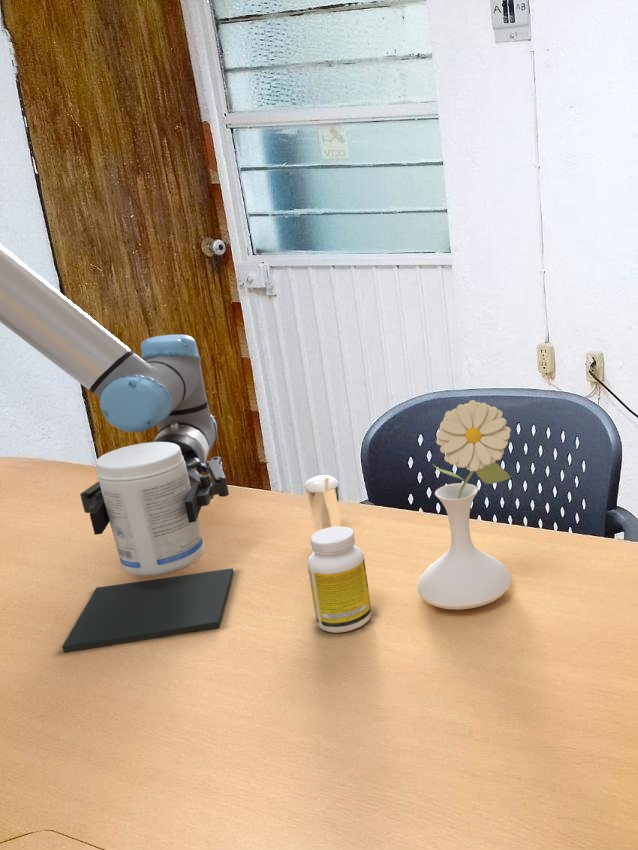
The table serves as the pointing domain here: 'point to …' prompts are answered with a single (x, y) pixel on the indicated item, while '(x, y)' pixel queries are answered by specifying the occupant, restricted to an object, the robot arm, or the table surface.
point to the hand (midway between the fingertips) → (143, 517)
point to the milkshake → (323, 501)
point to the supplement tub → (149, 508)
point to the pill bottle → (338, 580)
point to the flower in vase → (467, 510)
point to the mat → (151, 609)
